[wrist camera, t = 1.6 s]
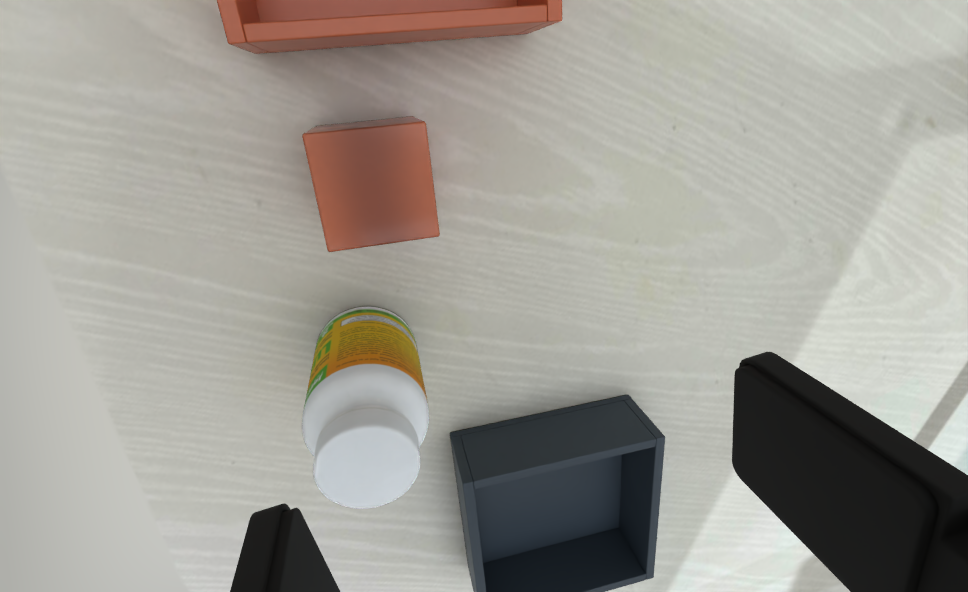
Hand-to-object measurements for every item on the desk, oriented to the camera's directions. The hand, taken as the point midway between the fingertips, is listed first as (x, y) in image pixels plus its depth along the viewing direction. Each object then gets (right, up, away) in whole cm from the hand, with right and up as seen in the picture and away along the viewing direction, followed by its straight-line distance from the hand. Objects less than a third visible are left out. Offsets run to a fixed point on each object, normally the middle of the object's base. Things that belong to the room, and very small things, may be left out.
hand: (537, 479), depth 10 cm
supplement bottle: (-8, +1, +17) cm, 19 cm away
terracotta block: (-6, +10, +14) cm, 18 cm away
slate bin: (+3, -9, +24) cm, 26 cm away
